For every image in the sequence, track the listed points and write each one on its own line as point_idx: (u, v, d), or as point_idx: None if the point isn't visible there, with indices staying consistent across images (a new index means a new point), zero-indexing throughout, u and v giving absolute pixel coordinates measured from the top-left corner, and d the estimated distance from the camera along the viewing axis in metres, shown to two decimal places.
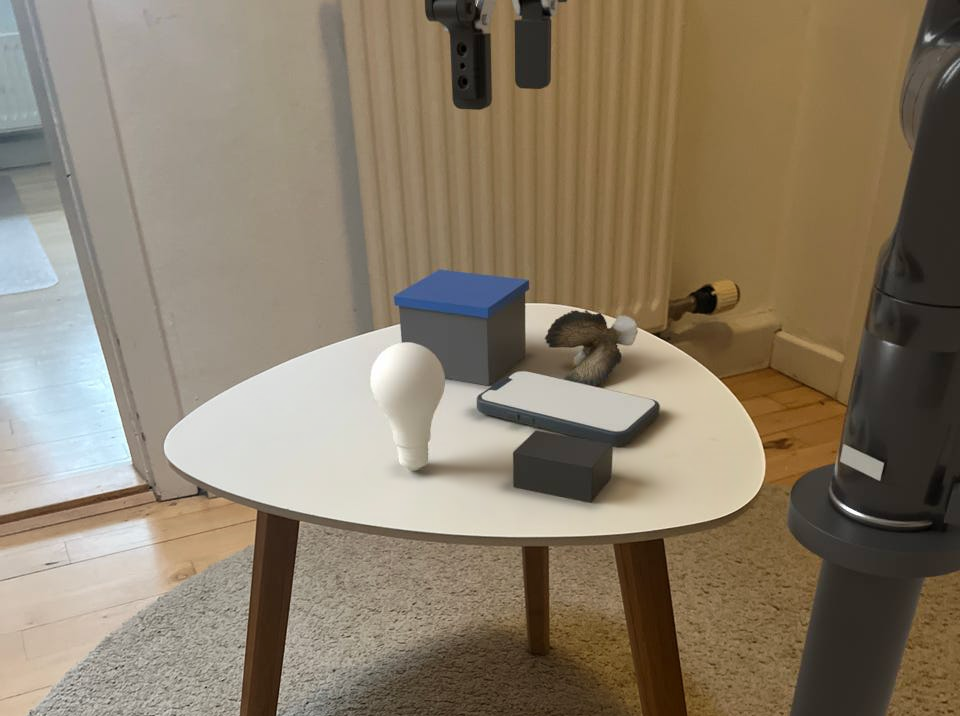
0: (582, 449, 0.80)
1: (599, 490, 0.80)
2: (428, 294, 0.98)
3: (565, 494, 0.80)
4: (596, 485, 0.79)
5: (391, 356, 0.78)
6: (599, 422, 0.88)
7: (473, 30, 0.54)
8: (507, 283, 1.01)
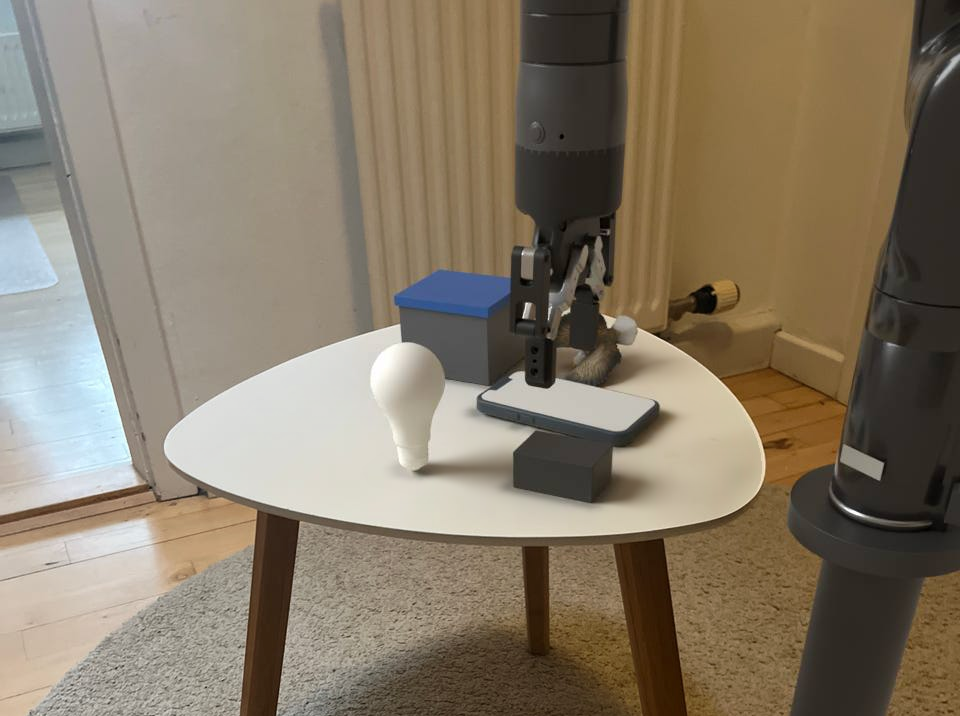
0: (582, 449, 0.80)
1: (599, 490, 0.80)
2: (428, 294, 0.98)
3: (565, 494, 0.80)
4: (596, 485, 0.79)
5: (391, 356, 0.78)
6: (599, 422, 0.88)
7: (544, 339, 0.70)
8: (507, 283, 1.01)
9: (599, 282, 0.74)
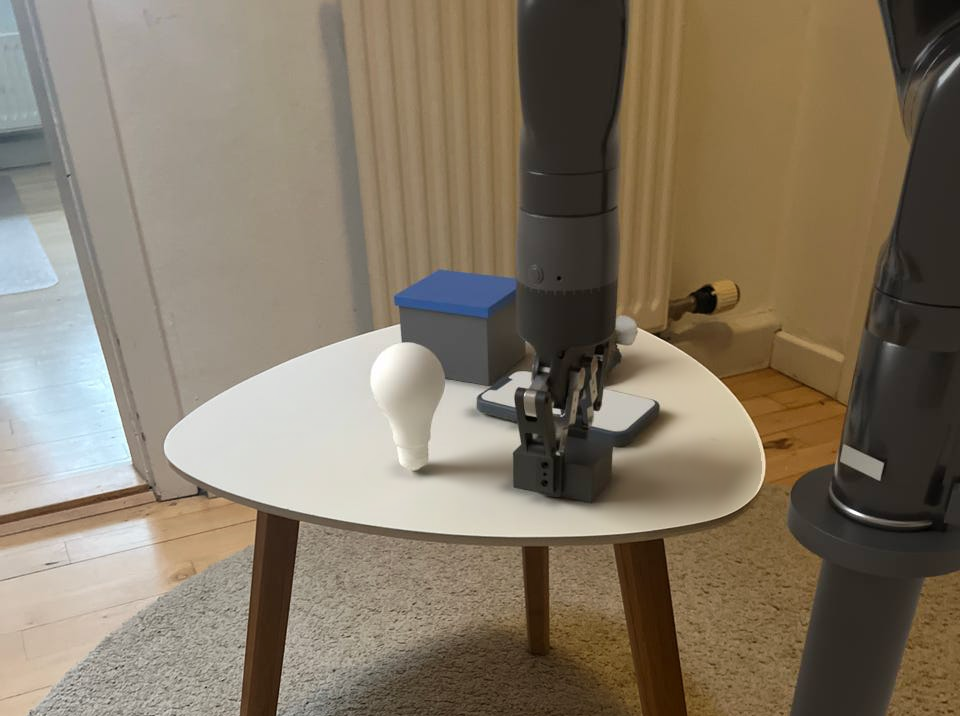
0: (582, 449, 0.80)
1: (599, 490, 0.80)
2: (428, 294, 0.98)
3: (565, 494, 0.80)
4: (596, 485, 0.79)
5: (391, 356, 0.78)
6: (599, 422, 0.88)
7: (553, 456, 0.77)
8: (507, 283, 1.01)
9: (590, 404, 0.79)
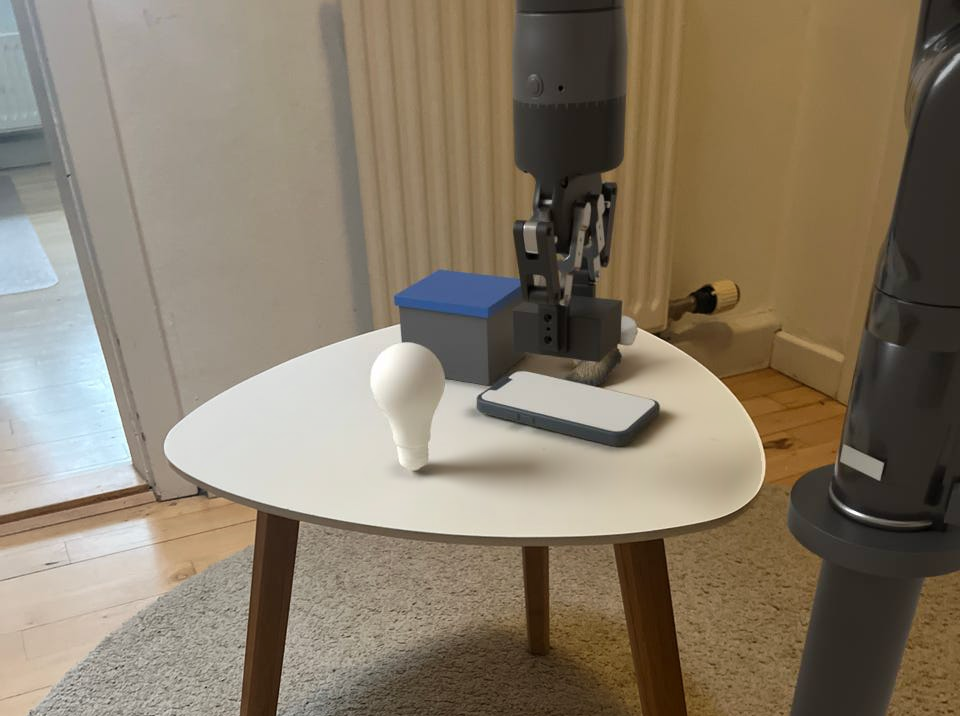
0: (588, 305, 0.73)
1: (608, 351, 0.73)
2: (428, 294, 0.98)
3: (570, 354, 0.73)
4: (604, 343, 0.72)
5: (391, 356, 0.78)
6: (599, 422, 0.88)
7: (557, 306, 0.70)
8: (507, 283, 1.01)
9: (597, 253, 0.72)
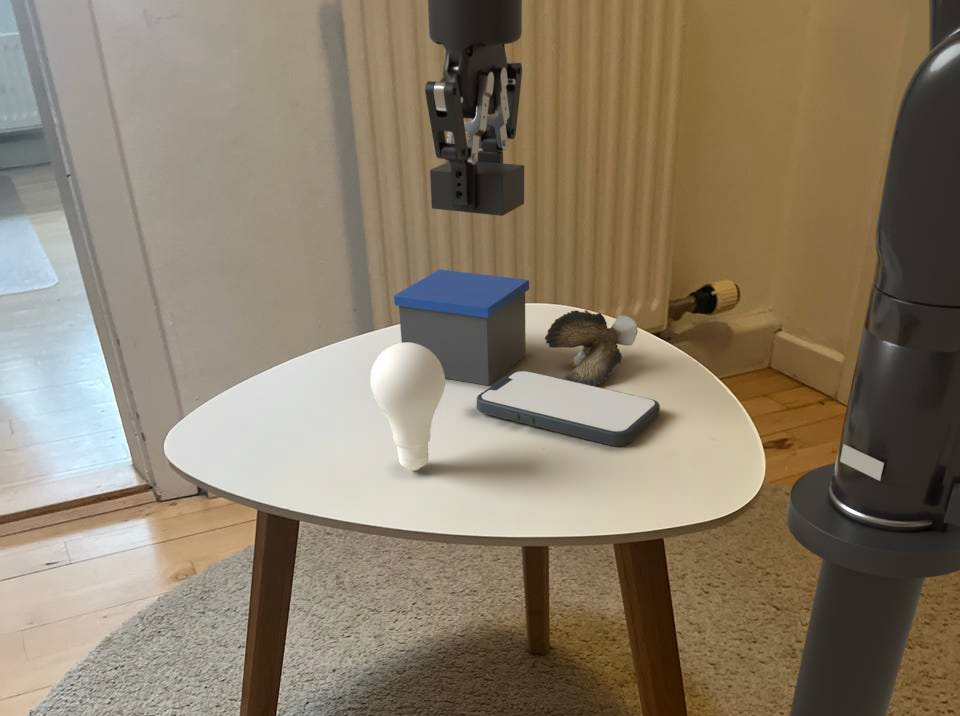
0: (495, 167, 0.85)
1: (511, 208, 0.86)
2: (428, 294, 0.98)
3: (479, 209, 0.85)
4: (507, 199, 0.85)
5: (391, 356, 0.78)
6: (599, 422, 0.88)
7: (466, 163, 0.82)
8: (507, 283, 1.01)
9: (502, 122, 0.84)
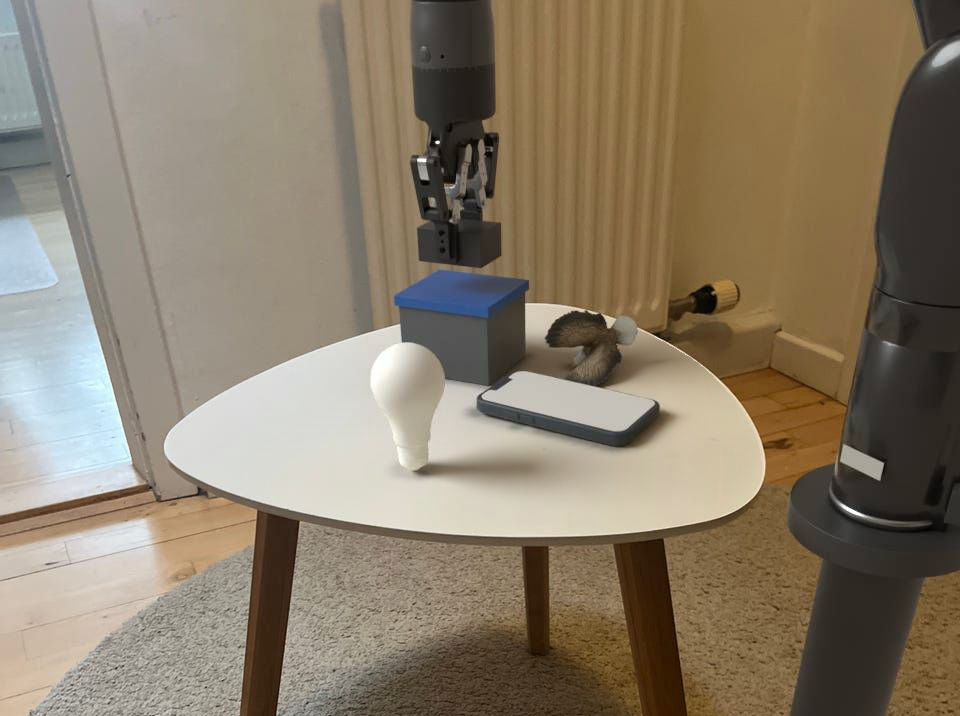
0: (474, 225, 0.96)
1: (489, 260, 0.96)
2: (428, 294, 0.98)
3: (460, 262, 0.96)
4: (485, 253, 0.95)
5: (391, 356, 0.78)
6: (599, 422, 0.88)
7: (448, 223, 0.93)
8: (507, 283, 1.01)
9: (481, 185, 0.95)
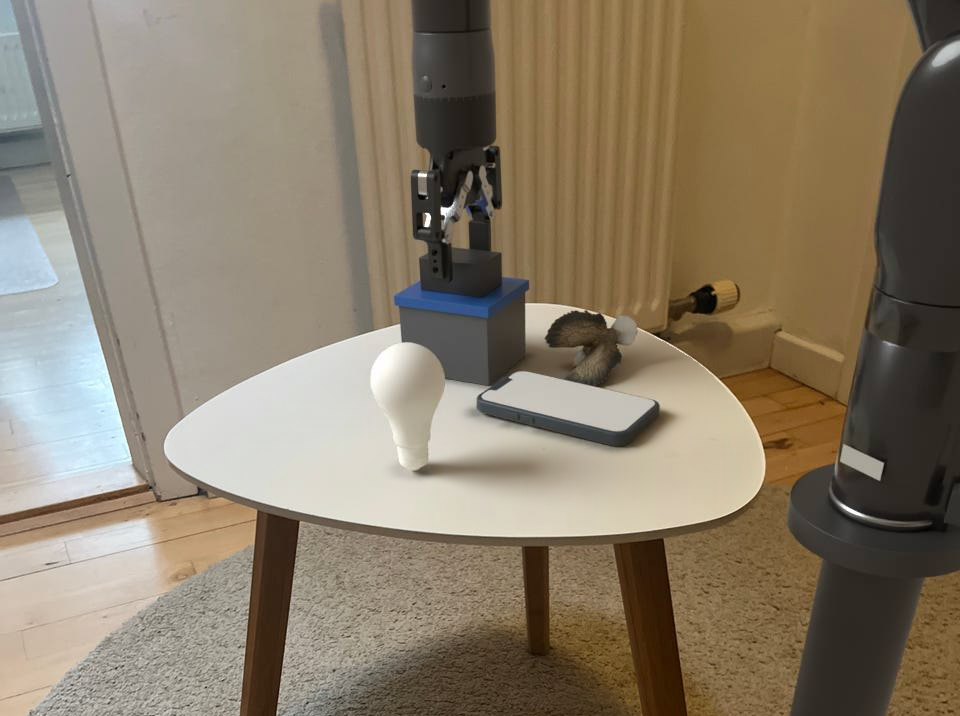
0: (475, 255, 0.98)
1: (490, 290, 0.98)
2: (428, 294, 0.98)
3: (461, 292, 0.98)
4: (486, 283, 0.97)
5: (391, 356, 0.78)
6: (599, 422, 0.88)
7: (441, 243, 0.93)
8: (507, 283, 1.01)
9: (487, 203, 0.97)
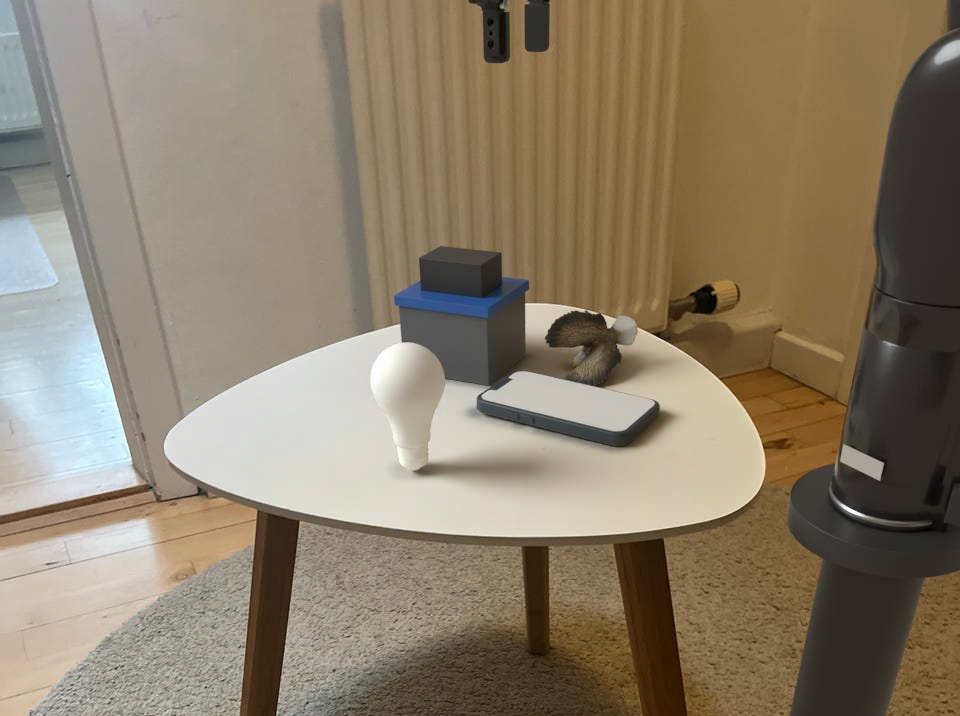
0: (475, 255, 0.98)
1: (490, 290, 0.98)
2: (428, 294, 0.98)
3: (461, 292, 0.98)
4: (486, 283, 0.97)
5: (391, 356, 0.78)
6: (599, 422, 0.88)
7: (498, 9, 0.82)
8: (507, 283, 1.01)
9: None
